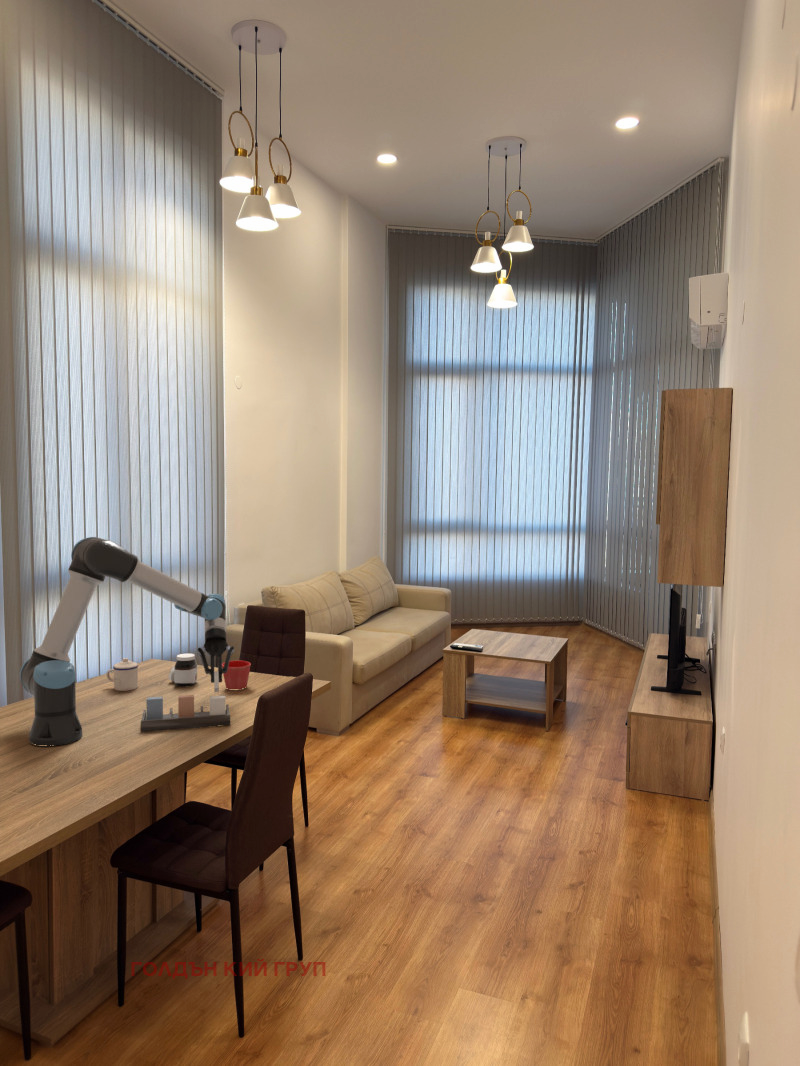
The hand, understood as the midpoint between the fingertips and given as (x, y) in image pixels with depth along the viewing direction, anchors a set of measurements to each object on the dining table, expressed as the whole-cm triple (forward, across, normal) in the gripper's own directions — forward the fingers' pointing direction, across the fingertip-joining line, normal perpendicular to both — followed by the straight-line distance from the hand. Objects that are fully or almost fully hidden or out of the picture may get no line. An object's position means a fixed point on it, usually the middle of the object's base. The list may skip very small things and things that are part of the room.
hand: (216, 690), depth 259 cm
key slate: (+10, +20, 0) cm, 22 cm away
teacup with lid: (-23, +35, -35) cm, 54 cm away
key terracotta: (+10, +10, 0) cm, 14 cm away
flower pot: (-16, -8, -28) cm, 33 cm away
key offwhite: (+12, 0, +3) cm, 12 cm away
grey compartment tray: (+11, +10, -1) cm, 15 cm away
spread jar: (-24, +12, -36) cm, 45 cm away
